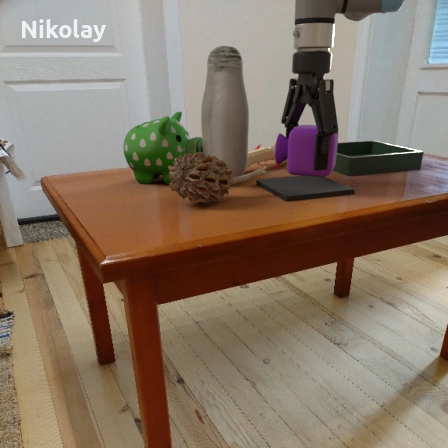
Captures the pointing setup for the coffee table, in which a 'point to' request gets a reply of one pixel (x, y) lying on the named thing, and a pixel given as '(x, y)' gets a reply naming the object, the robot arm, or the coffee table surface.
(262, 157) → the beige long piece
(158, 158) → the piggy bank
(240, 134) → the grey bottle
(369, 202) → the coffee table surface
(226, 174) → the pine cone
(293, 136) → the toy camera
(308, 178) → the mat
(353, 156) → the bin
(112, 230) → the coffee table surface
